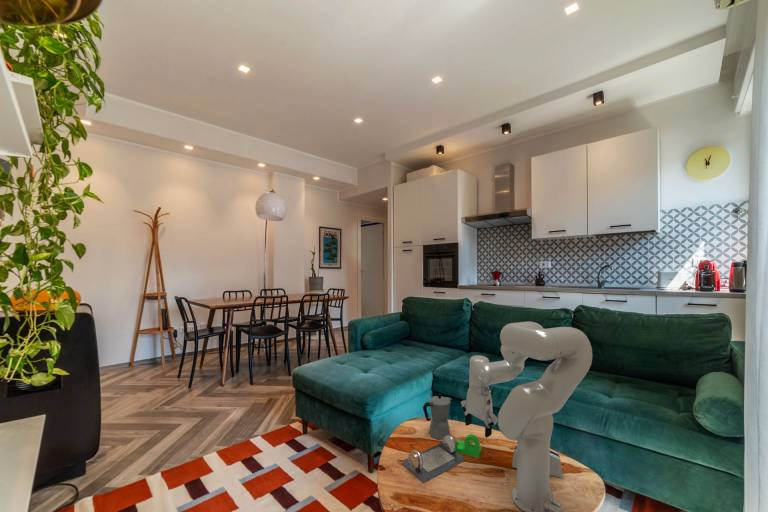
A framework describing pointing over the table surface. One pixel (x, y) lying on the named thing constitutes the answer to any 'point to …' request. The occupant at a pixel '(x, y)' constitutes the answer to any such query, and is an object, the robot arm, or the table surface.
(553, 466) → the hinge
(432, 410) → the coffeepot
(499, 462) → the table surface
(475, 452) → the mechanical part
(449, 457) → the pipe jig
